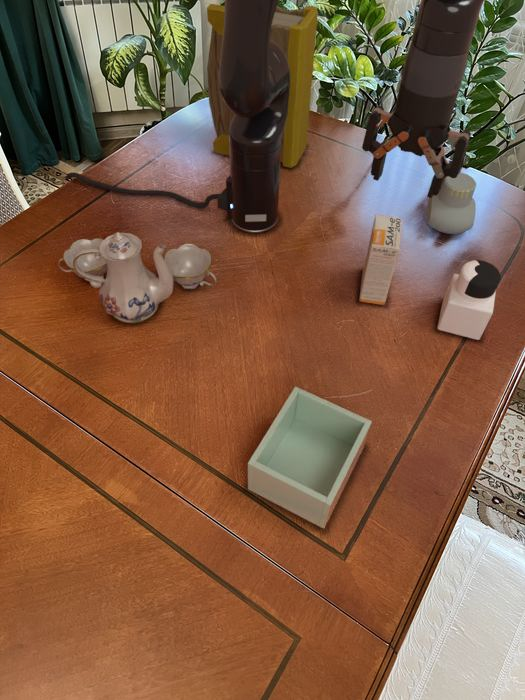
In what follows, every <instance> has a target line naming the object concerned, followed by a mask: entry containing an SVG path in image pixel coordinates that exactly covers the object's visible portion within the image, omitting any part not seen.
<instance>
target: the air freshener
mask: <svg viewBox="0 0 525 700" xmlns="http://www.w3.org/2000/svg"><path fill="white" fill-rule="evenodd" d="M476 188H477V182H476V180H475V179H474V177H472V176H471V175H469V174H467V173H464V172H459V174H458V176H457V177H456V178H451V177H445V179H444V182H443V185H442V188H441V190H440V192H439V193H438V195H437V196H435V195H434V196H433V197H432V198H429V197H428V200H427V204H426V205H427V206H426V218H425V219H426V223H427V225H429V227H431V228H432V229H434V230H435V231H437V232H439V233H443V234H448V235H457V234H463V233H465V232H468V231H470V230H471V229H473V227H474V223H475V220H476V211H477V210H476V209H477V207H476V200H475V199H474V198H473V196H474V194H475V191H476Z"/></svg>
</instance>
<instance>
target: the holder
mask: <svg viewBox="0 0 525 700" xmlns="http://www.w3.org/2000/svg"><path fill="white" fill-rule="evenodd" d="M372 424H373V421H372V420H370V419H368V418H366V417H364V416H361V415H359V414H357V413H355V412H353V411H350V410H348V409H346V408H344V407H342V406H341V405H340V406H339V405H337V404H335V403H332V402H330V401H329V400H326V399H324V398H322V397H319V396H317V395H315V394H314V393H311V392H308V391H306V390H304V389H302V388H300V387H298V386H294V388H293V389H292V391H291V392H290V394H289V396H288V397H287V399H286V401H285V402H284V404H283V405H282V407H281V408H280V410H279V412H278V414H277V415H276V417H275V419H274V420H273V421H272V423H271V424H270V426H269V428H268V430H267V431H266V433H265V435H264V436H263V438H262V440H261V441H260V443H259V444H258V446H257V447H256V449H255V450H254V452H253V454H252V455H251V457H250V459H249V460H248V462H247V490H249V491H250V492H252V493H254V494H256V495H258V496H260V497H262V498H264V499H266V500H267V501H270V502H271V503H273V504H275V505H277V506H279V507H281V508H282V509H285V510H286V511H289V512H291V513H293V514H294V515H297V516H299V517H300V518H302V519H304V520H305V521H308V522H309V523H311V524H314V525H316V526H317V527H319V528H321V529H323V530H324V529H325V528H326V526H327V524H328V522H329V520H330V518H331V516H332V513H333V512H334V509H335V507H336V505H337V504H338V502H339V499H340V498H341V496H342V493H343V491H344V489H345V487H346V485H347V483H348V481H349V479H350V477H351V475H352V473H353V470H354V469H355V467H356V464H357V463H358V460H359V459H360V457H361V454H362V452H363V450H364V448H365V444H366V442H367V439H368V435H369V433H370V429H371V427H372Z"/></svg>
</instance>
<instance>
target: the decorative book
mask: <svg viewBox="0 0 525 700" xmlns="http://www.w3.org/2000/svg"><path fill="white" fill-rule="evenodd" d="M318 14H319V11H318V8H317V6H314V5H305V7H304V8H303V9H302V8H296V9H290V10H285V9H284V8H282V7H280V6H279V5H277V8H276V11H275V14H274V18H273V22H272V26H271V32H270V40H272V41H274V42H275V43H277V44H278V45H279V46H280V47H281V49H282V50H283V51H284V53H285V55H286V57H287V60H288V63H289V67H290V91H289V102H288V112H287V120H286V124H285V127H284V130H283V133H282V140H281V160H280V163H282V167H286V168H291V169H292V168H293V167H295V166H297V164H298V162H299V161H300V159H301V157H302V155H303V154H304V152H305V150H306V149H307V141H308V131H309V121H310V120H309V118H310V108H311V107H310V106H311V96H312V95H311V94H312V84H313V75H314V74H313V72H314V61H315V50H316V38H317V37H316V36H317V25H318V16H319V15H318ZM206 16H207V22H208V23H209V24H210V26H211V34H210V41H209V50H208V58H207V64H206V65H207V66H206V71H207V72H206V74H207V90H208V104H209V108H210V113H211V119H212V123H213V127H214V128H213V129H214V131H215V135H216V138H214V140H213V141H212V142H211V143H212V144H211V145H212V147H213V151H214V153H216V154H220V155H224V156H229V157H230V152H229V127H230V124H231V121H232V119H233V117H234V115H235V114H234V113H233V112H232V111H231V110H230V109H229V108H228V107H227V105H226V103H225V102H224V100H223V97H222V95H221V91H220V86H219V68H220V59H221V50H222V40H223V31H224V18H225V5H221V4H215V3H209V5H208V6H207V7H206Z"/></svg>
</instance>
